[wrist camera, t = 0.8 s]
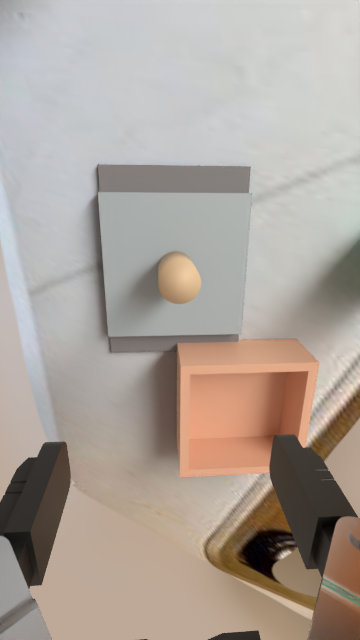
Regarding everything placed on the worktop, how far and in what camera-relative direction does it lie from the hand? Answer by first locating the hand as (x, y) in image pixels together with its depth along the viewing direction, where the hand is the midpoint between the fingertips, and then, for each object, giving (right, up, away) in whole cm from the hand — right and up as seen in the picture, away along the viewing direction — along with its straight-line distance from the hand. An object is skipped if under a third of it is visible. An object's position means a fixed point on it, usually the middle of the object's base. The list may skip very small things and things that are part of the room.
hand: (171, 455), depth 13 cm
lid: (0, +10, +16) cm, 19 cm away
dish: (+6, -2, +21) cm, 22 cm away
